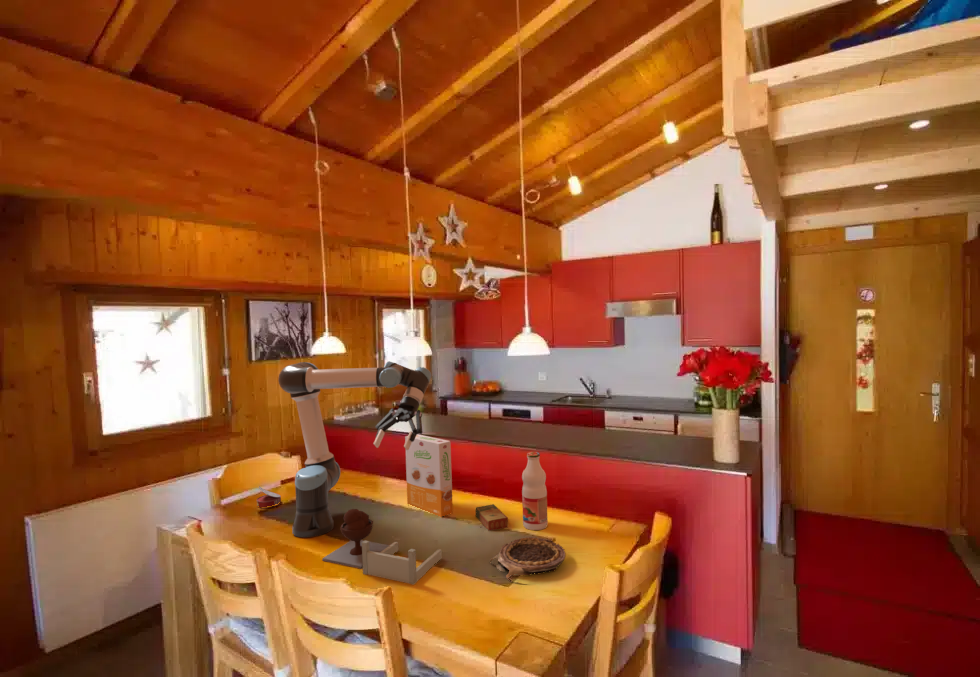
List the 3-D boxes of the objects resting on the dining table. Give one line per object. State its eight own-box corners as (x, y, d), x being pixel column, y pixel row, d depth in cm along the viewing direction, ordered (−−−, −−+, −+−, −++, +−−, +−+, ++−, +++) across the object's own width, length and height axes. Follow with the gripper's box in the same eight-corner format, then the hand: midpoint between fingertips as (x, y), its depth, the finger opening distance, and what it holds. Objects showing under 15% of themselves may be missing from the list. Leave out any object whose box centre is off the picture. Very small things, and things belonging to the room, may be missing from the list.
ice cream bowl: (366, 559, 162) (364, 515, 162) (335, 557, 165) (333, 513, 164) (379, 545, 173) (378, 503, 173) (350, 543, 175) (348, 502, 175)
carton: (488, 531, 185) (487, 520, 185) (475, 516, 200) (474, 506, 200) (508, 528, 187) (508, 516, 187) (494, 513, 203) (493, 503, 202)
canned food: (263, 512, 224) (267, 489, 229) (284, 510, 223) (287, 487, 227) (248, 508, 214) (252, 485, 219) (270, 506, 213) (273, 483, 217)
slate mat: (322, 560, 165) (322, 558, 165) (353, 541, 179) (353, 538, 179) (361, 568, 158) (361, 566, 158) (390, 547, 173) (390, 545, 173)
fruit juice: (550, 529, 184) (548, 455, 183) (526, 532, 183) (524, 457, 182) (543, 519, 193) (541, 449, 193) (520, 522, 192) (518, 451, 191)
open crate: (363, 573, 155) (361, 542, 155) (394, 550, 171) (393, 521, 171) (413, 584, 147) (412, 551, 147) (442, 558, 163) (441, 529, 163)
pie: (518, 538, 178) (518, 525, 178) (589, 557, 163) (589, 542, 163) (473, 572, 155) (473, 556, 155) (552, 597, 140) (552, 580, 140)
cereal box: (452, 512, 204) (450, 441, 203) (441, 517, 199) (438, 444, 198) (418, 500, 219) (416, 434, 218) (407, 504, 215) (405, 436, 214)
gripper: (441, 407, 195) (423, 454, 182) (389, 405, 205) (368, 449, 192) (434, 396, 190) (414, 443, 177) (381, 394, 200) (358, 439, 187)
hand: (390, 447), depth 184 cm, fingers open, 13 cm apart
